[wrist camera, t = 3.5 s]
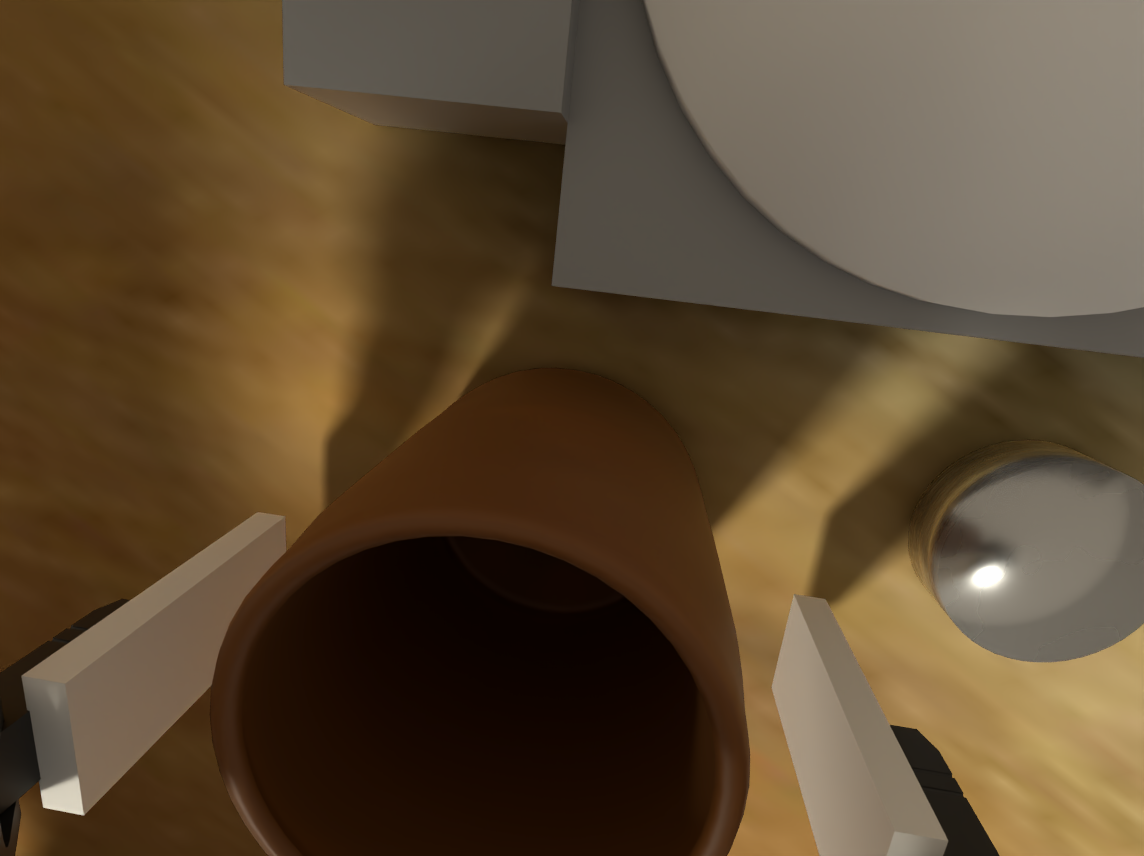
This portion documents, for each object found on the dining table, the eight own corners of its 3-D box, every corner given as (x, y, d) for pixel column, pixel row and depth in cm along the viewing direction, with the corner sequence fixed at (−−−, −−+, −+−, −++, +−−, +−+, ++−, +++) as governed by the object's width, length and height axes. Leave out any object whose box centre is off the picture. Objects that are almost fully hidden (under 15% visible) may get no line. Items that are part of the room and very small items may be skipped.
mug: (606, 768, 20) (574, 1210, 11) (372, 694, 20) (148, 1067, 11) (741, 408, 16) (864, 617, 7) (455, 323, 16) (224, 420, 7)
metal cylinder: (884, 600, 17) (914, 644, 15) (933, 425, 16) (972, 449, 14) (1077, 629, 17) (1132, 677, 15) (1145, 452, 16) (1214, 480, 14)
